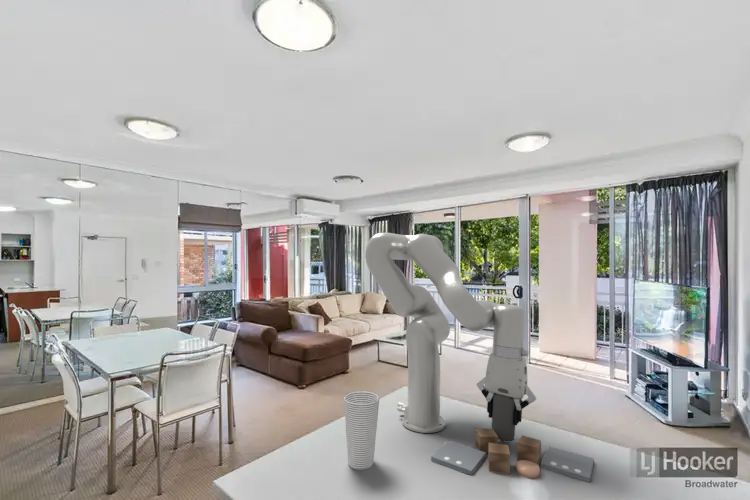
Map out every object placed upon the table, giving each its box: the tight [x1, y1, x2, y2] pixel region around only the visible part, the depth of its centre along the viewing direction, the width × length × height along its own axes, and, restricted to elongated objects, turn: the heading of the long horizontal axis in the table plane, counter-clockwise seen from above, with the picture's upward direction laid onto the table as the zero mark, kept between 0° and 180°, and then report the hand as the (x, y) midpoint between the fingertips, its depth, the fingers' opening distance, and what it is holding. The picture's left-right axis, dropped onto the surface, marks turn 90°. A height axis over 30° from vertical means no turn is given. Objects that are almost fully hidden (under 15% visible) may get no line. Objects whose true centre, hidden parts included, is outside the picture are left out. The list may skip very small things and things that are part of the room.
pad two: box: [430, 440, 487, 476], centre depth 90 cm, size 10×10×1 cm
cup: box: [343, 390, 380, 471], centre depth 87 cm, size 8×8×16 cm
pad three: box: [540, 445, 595, 483], centre depth 88 cm, size 10×10×1 cm
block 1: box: [474, 427, 499, 456], centre depth 94 cm, size 4×4×4 cm
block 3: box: [516, 435, 542, 466], centre depth 90 cm, size 4×4×4 cm
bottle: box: [491, 388, 516, 443], centre depth 97 cm, size 6×6×15 cm
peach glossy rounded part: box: [515, 460, 541, 480], centre depth 84 cm, size 5×5×2 cm
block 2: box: [487, 443, 511, 475], centre depth 86 cm, size 4×4×4 cm
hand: (503, 418), depth 97 cm, fingers closed on bottle, 5 cm apart
